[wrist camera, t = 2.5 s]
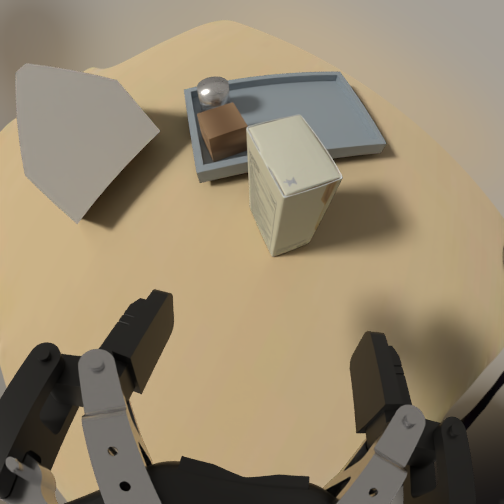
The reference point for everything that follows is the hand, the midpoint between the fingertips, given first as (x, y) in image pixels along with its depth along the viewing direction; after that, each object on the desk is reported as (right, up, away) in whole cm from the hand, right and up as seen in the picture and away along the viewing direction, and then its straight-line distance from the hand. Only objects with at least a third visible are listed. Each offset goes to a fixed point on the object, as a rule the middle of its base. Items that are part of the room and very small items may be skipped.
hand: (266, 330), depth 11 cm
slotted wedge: (-23, +16, +21) cm, 35 cm away
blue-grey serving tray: (+3, +19, +21) cm, 29 cm away
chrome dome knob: (-5, +21, +20) cm, 29 cm away
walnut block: (-4, +15, +18) cm, 24 cm away
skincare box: (+2, +6, +18) cm, 19 cm away
